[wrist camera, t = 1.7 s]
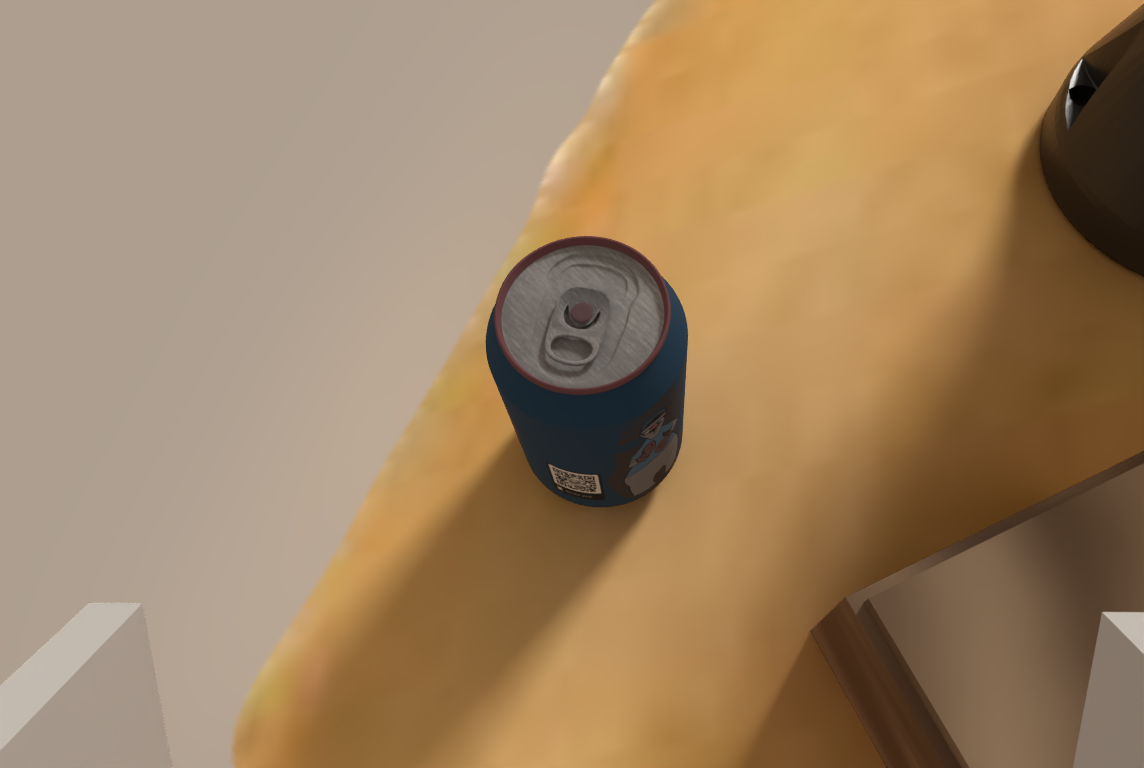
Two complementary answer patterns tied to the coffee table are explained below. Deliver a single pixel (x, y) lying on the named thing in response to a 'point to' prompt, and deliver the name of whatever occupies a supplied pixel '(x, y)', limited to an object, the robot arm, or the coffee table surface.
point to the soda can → (591, 368)
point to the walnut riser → (994, 632)
